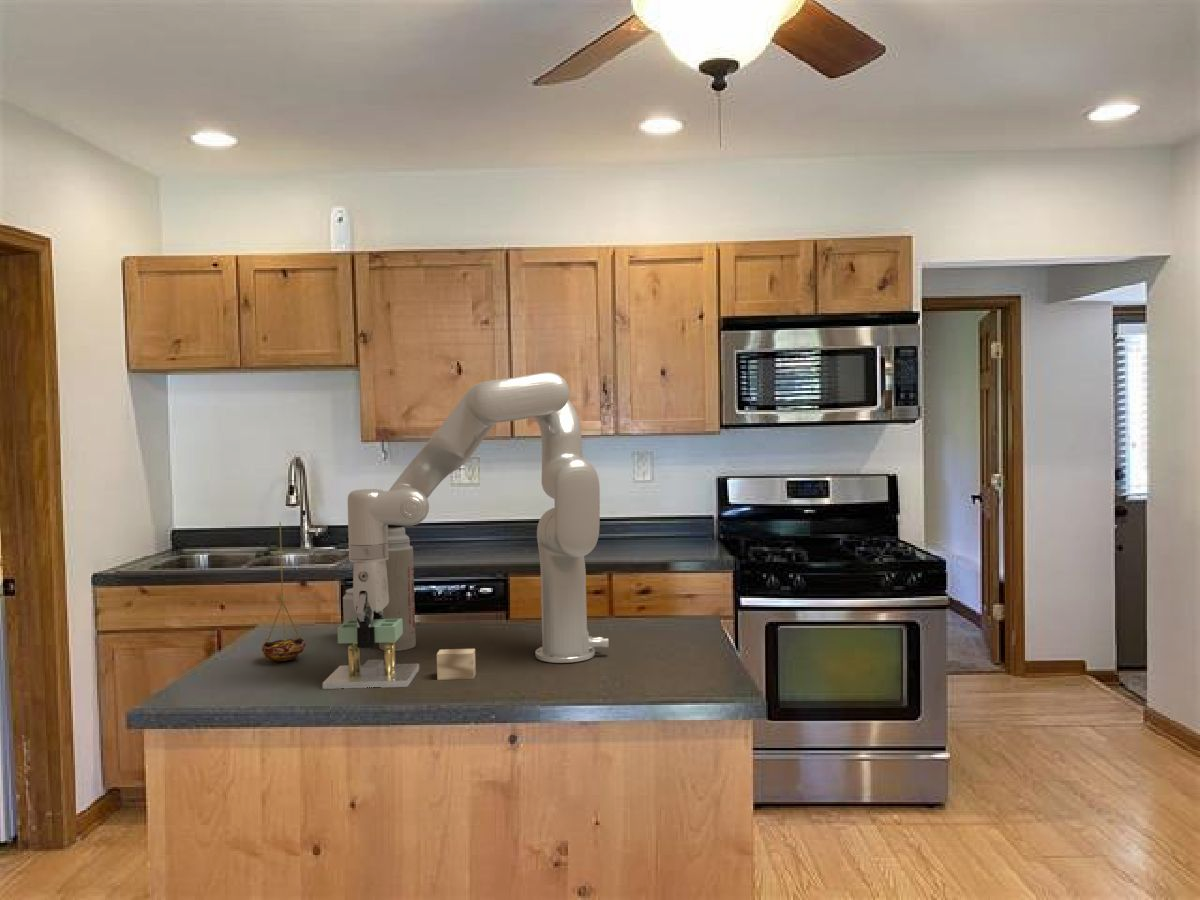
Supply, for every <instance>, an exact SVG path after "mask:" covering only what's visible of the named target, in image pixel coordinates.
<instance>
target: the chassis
mask: <svg viewBox="0 0 1200 900" xmlns="http://www.w3.org/2000/svg"><path fill="white" fill-rule="evenodd" d="M383 651H384V653H383V654H384V659H367V660H366V662H364V664H363V665H362V664H361V659H360V658H361V657H360V656H361V655H360V648H358V646H357V643H352V644H350V645H349V644H348V647H347V652H348V654H347V655H348V657H347V658H348V665H346V664H345V665H339V666H338V667H337V668H336V669H335V670H334V671H332V673H330V675H329V676H328V677H326V679H325V680H324V681H323V682H322V689H323V690H332V689H333V690H338V689H341V688H344V689H370V688H371V687H372V688H371V689H373V687H381V688H407V687H409V685H410V684H411V682H412V681H413V679H414V678H415V676H416V675H417V673H418V672H419V670H420V663H396V651H395V642H388V644H386V645H385V646H384V650H383ZM367 687H368V688H367ZM369 687H370V688H369Z"/></svg>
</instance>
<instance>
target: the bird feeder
mask: <svg viewBox="0 0 1200 900" xmlns="http://www.w3.org/2000/svg"><path fill="white" fill-rule="evenodd" d="M278 527H279V552H280V554H279V555H280V580H281V581H280V582H281V584H280V585H281V589H280V590H281V604H280V605H279V608H278V611H277V613H276V616H275V619H274V621H273V624H272V627H271V630H270V632H269V634H268V637H267V638H265V640H264V642H263V643H262V644H261V651H262V652H263V656H264V658H265V659H267V660H268V661H271V662H275V663H281V662H286V661H287V662H288V661H289V660H292V659H294V658H296V657H298V656H299V655H300V654H302V653H303V651H304V649H305V648H306V646H307V644H306V641H305V640H304V639H303V638H302V635H300V634H299V633H298V631H297V629H296V627H295V625H294V622H293V620H292V617H291V616H290V613H289V612H288V610H287V608H286V605H285V602H284V585H283V584H284V580H283V577H284V576H283V575H284V574H283V556H282V555H283V552H282V551H283V548H282V543H283V542H282V523H281V521H279V525H278ZM281 610H282V620H283V621H282V622H283V623H282V625H283V626H282V627H283V638H284V639H277V640H270V638H271V635H272V632H273V630H274V627H275V624H276V622H277V619H278V617H279V614H280V611H281ZM285 612H286V614H287V617H288V618H289V620H290V623H291V625H292V627H293V630H294V631H295V634H296V638H286V637H287V635H286V624H285V622H286V621H285Z"/></svg>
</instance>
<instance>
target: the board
mask: <svg viewBox="0 0 1200 900" xmlns="http://www.w3.org/2000/svg"><path fill="white" fill-rule="evenodd" d="M372 627H374V630H375V644H376V643H380V642H396V641H397V640H398V638H399V637H400V636H401V635H402V634H403V623H402V619H373V626H372ZM353 643H357V620H346V621H345V622H344V621H343V623H342V624H340V625H339V626H338V627H337V644H353Z"/></svg>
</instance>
